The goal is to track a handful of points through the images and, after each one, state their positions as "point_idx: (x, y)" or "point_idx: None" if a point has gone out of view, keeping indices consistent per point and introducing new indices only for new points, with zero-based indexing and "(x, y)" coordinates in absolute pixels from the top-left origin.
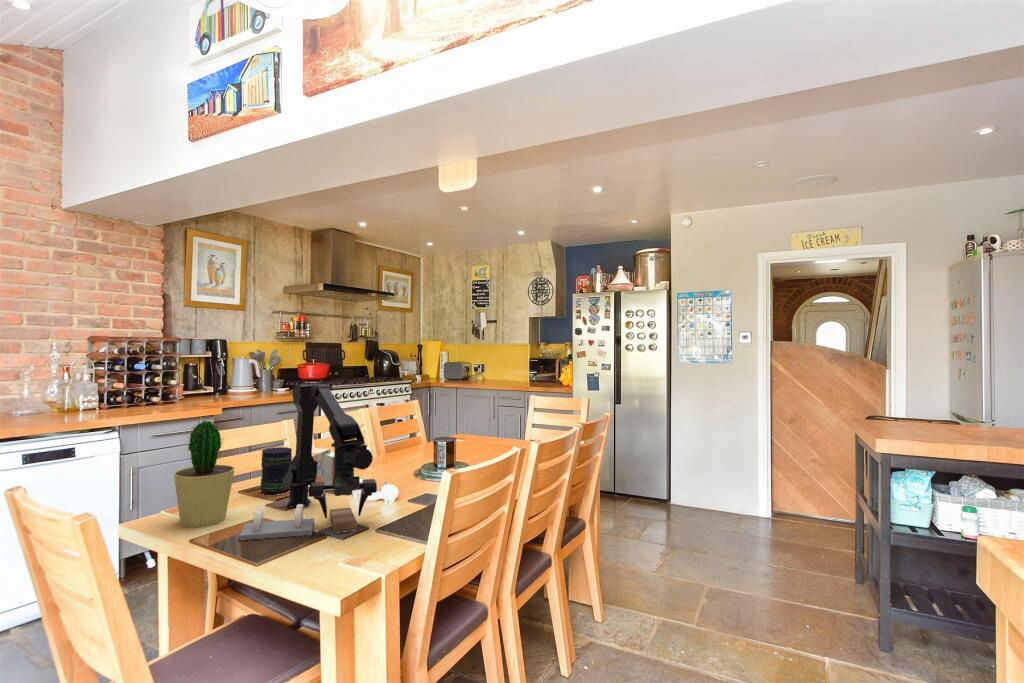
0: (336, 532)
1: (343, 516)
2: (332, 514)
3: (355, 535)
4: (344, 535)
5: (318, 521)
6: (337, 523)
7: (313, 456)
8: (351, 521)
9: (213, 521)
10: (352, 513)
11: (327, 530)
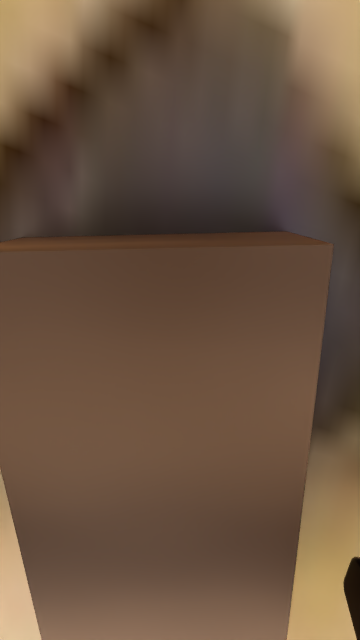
0: (263, 233)
1: (153, 535)
2: (274, 628)
3: (31, 57)
4: (175, 117)
5: None
6: (277, 279)
7: None
8: (42, 302)
9: None
10: (37, 594)
11: (335, 365)
